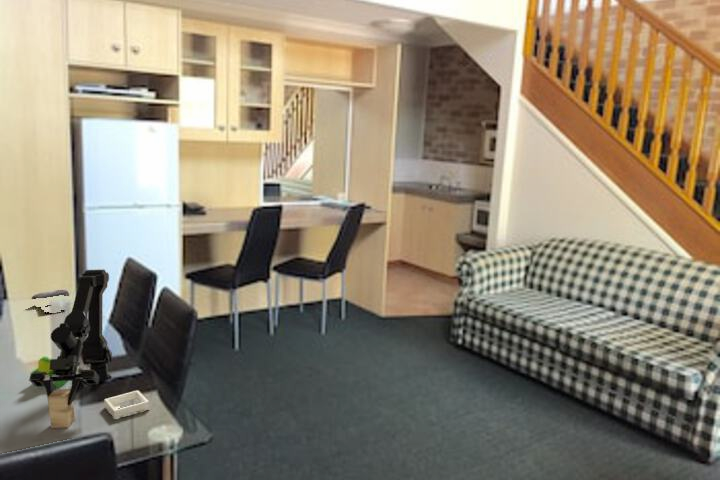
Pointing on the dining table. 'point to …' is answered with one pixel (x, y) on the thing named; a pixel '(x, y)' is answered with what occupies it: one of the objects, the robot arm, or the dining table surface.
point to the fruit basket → (47, 369)
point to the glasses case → (51, 294)
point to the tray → (114, 402)
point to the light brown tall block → (60, 409)
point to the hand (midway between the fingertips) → (59, 405)
